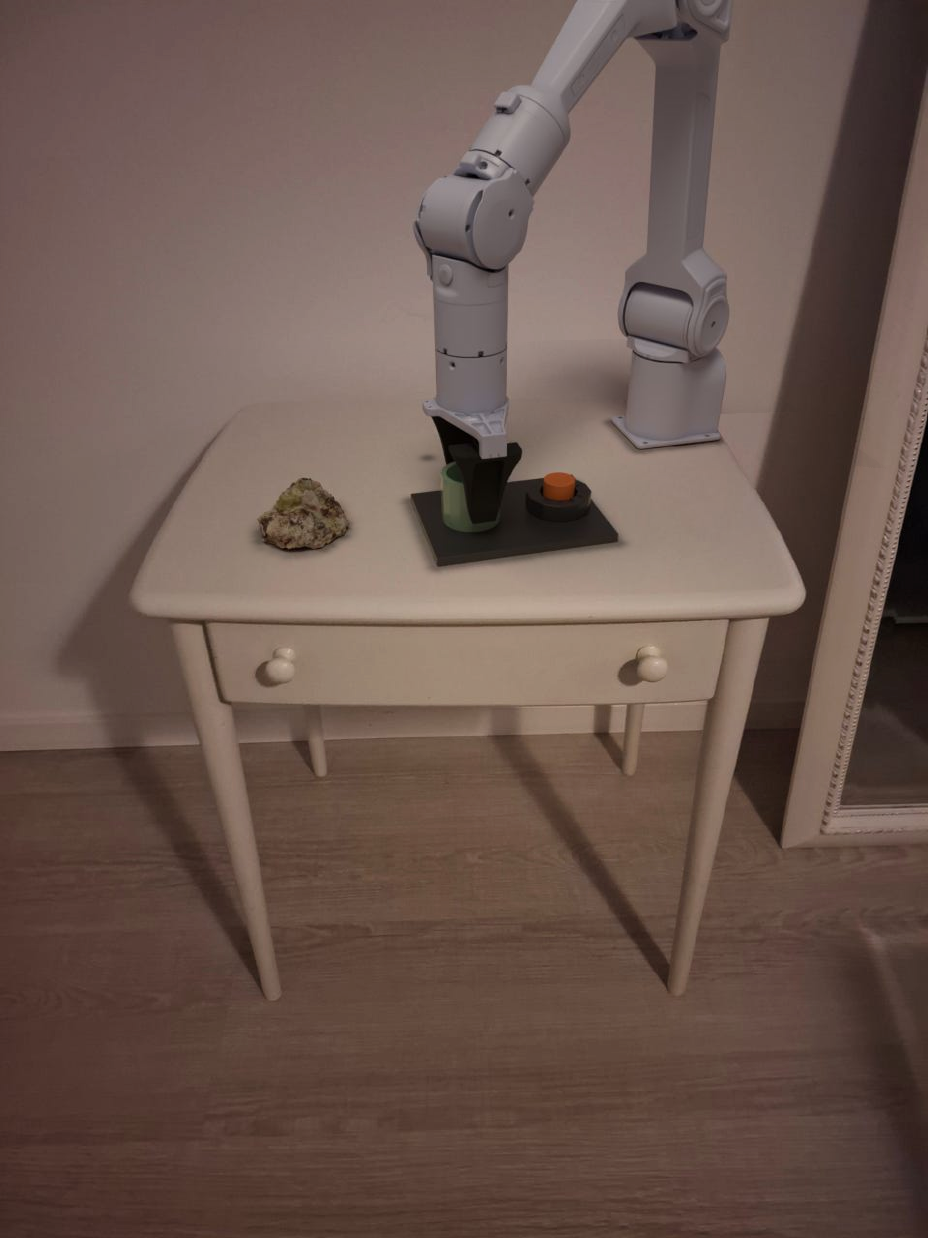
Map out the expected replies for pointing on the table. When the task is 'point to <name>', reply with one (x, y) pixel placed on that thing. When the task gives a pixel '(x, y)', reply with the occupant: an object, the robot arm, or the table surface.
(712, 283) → the robot arm
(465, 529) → the cup
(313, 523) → the mineral rock
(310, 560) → the table surface
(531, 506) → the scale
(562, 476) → the power button
